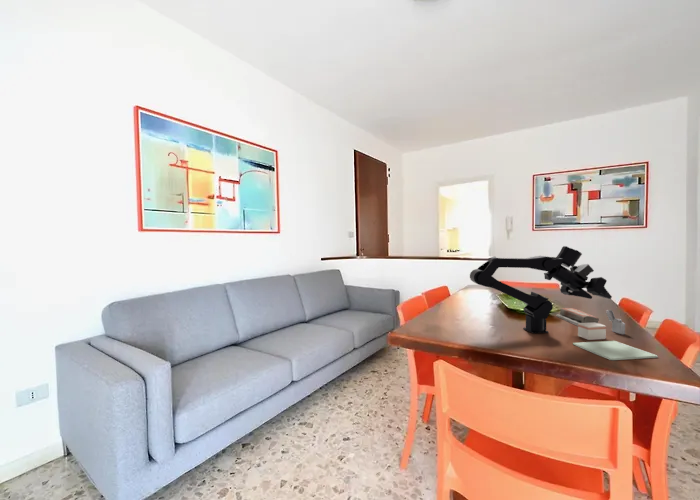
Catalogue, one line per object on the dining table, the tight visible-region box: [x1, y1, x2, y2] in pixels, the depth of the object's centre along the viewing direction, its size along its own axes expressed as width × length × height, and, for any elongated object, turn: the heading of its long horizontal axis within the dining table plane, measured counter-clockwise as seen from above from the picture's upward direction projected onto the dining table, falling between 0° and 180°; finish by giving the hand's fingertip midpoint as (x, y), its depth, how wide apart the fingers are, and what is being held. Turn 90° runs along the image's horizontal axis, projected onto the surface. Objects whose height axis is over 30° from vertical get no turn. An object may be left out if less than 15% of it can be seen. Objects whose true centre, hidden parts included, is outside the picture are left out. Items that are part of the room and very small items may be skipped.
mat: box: [572, 340, 659, 361], centre depth 101 cm, size 16×14×1 cm
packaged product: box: [556, 307, 601, 327], centre depth 136 cm, size 18×5×10 cm
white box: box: [577, 322, 607, 341], centre depth 115 cm, size 7×5×5 cm, turn 96°
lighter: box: [605, 309, 626, 335], centre depth 121 cm, size 7×2×8 cm, turn 1°
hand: (600, 297), depth 120 cm, fingers open, 9 cm apart
